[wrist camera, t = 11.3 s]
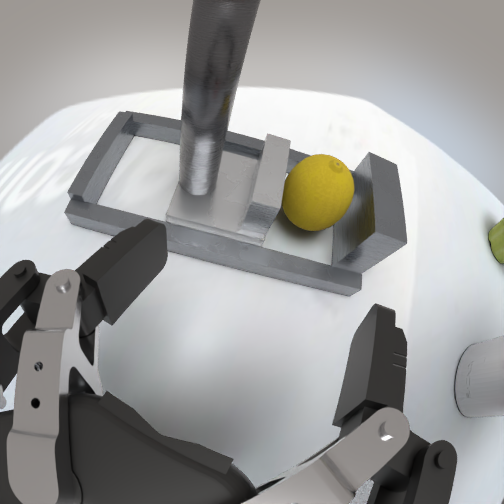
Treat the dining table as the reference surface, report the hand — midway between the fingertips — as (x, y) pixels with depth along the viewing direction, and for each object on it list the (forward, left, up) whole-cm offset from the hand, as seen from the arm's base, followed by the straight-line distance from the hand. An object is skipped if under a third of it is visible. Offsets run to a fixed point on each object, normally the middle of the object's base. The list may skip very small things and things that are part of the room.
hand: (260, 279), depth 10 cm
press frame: (+2, -11, -12) cm, 16 cm away
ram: (+2, -11, -12) cm, 17 cm away
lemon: (-5, -11, -12) cm, 17 cm away
